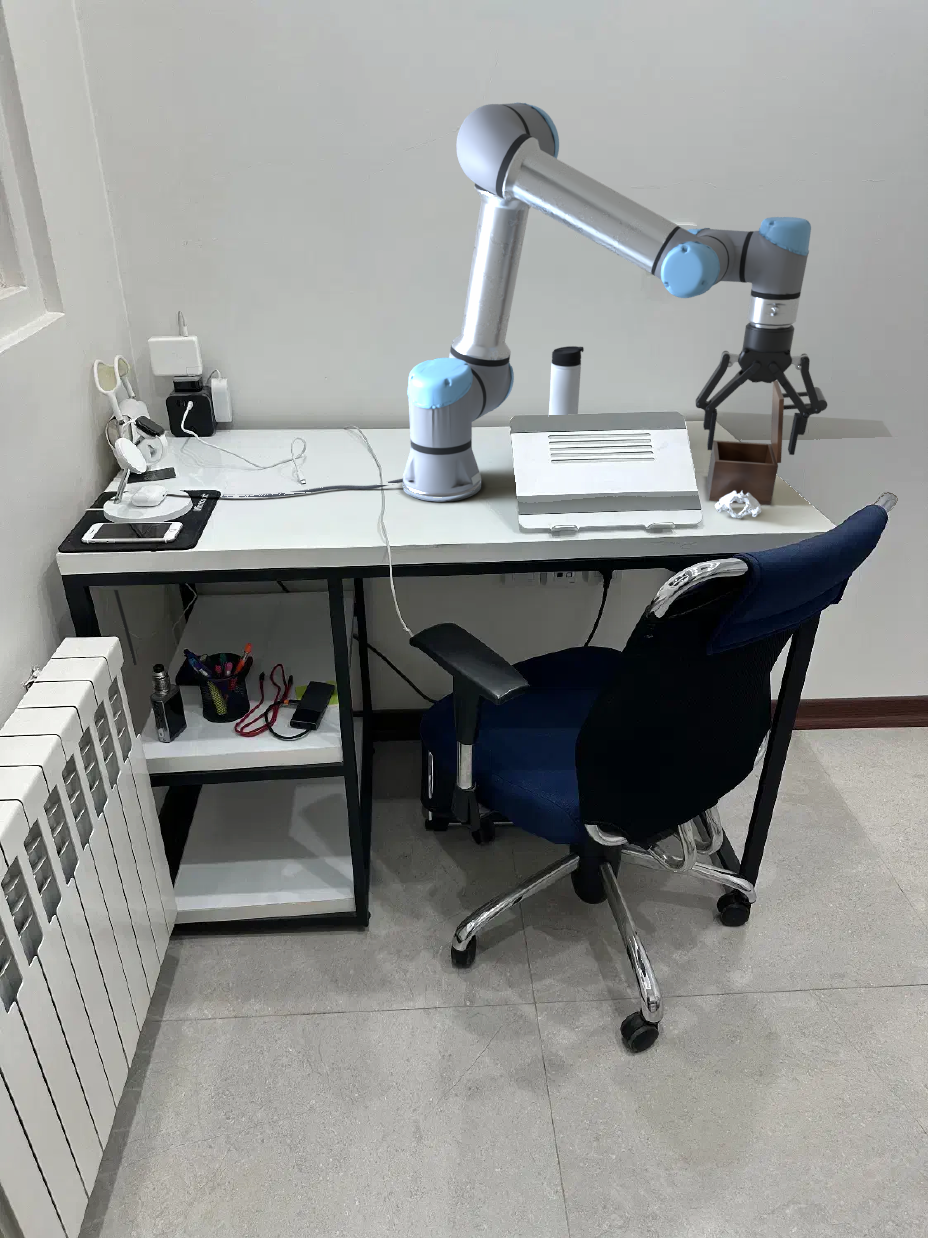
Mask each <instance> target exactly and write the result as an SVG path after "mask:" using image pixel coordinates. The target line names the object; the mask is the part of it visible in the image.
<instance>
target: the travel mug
mask: <svg viewBox="0 0 928 1238" xmlns="http://www.w3.org/2000/svg"><path fill="white" fill-rule="evenodd" d="M584 349H585V348H584V346H576V345H575V346H574V345H572V346H571V345H570V346H569V345H568V346H561V347H558V348H554V349H553V351H552V352H551V362H550V363H551V364H550V365H551V367H550V382H549V383H550V384H549V385H550V387H549V405H548V406H549V407H548V416H549V415H568V414H578V415H579V403H580V402H579V399H580V386H581V385H580V384H581V371H582V370H581V369H582V353H584V351H585V350H584Z"/></svg>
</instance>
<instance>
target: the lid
mask: <svg viewBox="0 0 928 1238" xmlns="http://www.w3.org/2000/svg"><path fill="white" fill-rule="evenodd" d="M780 386H781V385H780V383H779V382H778V380H776V381H774V382H772V396H771V398H772V399H771V400H772V401H771V425H770V444H771V445H772V448H773V452H774V456H775V459H776V463H778V464H781V463H782V451H783V450H782V449H783V429H784V411H785V410H798V409H797V408H796V406H795V405H794V403H793V404H785V399H788V398H789V396H788V395H787V393H786V392H782V390H781V389H782V388H781V387H780ZM814 388H815V391H816V394H817V397H818V400H819V404H820V407H821V412H824V411H825V410H826V409H827V408H828V402H827V400H826V397H825V396H824V394H823V391H822V389H821V388H820V387H817V386H814ZM796 392H797V393H798V395H799V396H800V398H801V397H808V394H807V391H796ZM789 399H790V398H789ZM804 404H805V405H806V406H808V405H811V403H810V402H808V403H807V402H806V403H805V402H804Z"/></svg>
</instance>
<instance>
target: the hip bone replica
mask: <svg viewBox="0 0 928 1238" xmlns="http://www.w3.org/2000/svg"><path fill="white" fill-rule="evenodd" d="M736 493H737V492H736V491H733V492H732V493H730V494H727V495H725V496H724V497H722V498H721V499H720V500H719V501H716V503H715V504H714V508H715V509H716V511H717V513H722V511H724V512H726V513H728V514H729V515H730V516H731V518H733V519H742V518H744V517H745V516H748V515H752V517H753V518H756V517H757V516H758V515H759V514H761V513H762V505H761V504H759V502H758V501H757V500H756V499H755V498H754V497H753V496H752V495H751V494H750V493H747V494H746V495H744V494H743V493H742V491H741V493H739V494H736ZM733 501H737V502H738V503H737V504H744V503H743V502H746V503H745V506H744V507H743V509H742V510H741V511H740V512H739V513H736V512H735V511H734V510H733V507H732V503H734V502H733Z"/></svg>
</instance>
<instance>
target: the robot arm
mask: <svg viewBox="0 0 928 1238" xmlns="http://www.w3.org/2000/svg"><path fill="white" fill-rule="evenodd" d="M455 146H456V147H455V148H456V157H457V161H458V163H459V166H460V167H461V169H462V171H463V174H465V176H466V177H467V178H468V179H469V180H471V181H472V182H473V183H474V187H473V188H474V190H475V192H476V193H477V194H478V196H479V198H480V206H479V211H478V219H477V225H476V231H475V238H474V245H473V252H472V258H471V265H470V271H469V278H468V283H467V291H466V296H465V304H464V310H463V317H462V322H461V330H460V334H459V335H457V336H456V337H454V338H453V339H452V340H451V343H450V350H449V355H448V357H438V358H434V359H433V360H432V359H427V360H425V361H422V362H420V363H418V364H417V365H415V366H414V367H413V368H412V369H411V370H410V372H409V375H408V386H407V397H408V414H409V415H408V417H409V437H410V438H409V439H410V451H409V453H408V458H407V461H406V465H405V467H404V472H403V475H402V478H398V479H394V480H389V481H387V482H388V483H397V484H401V483H402V489H403V491H404V492H405V493H406V494H407V495H408V496H410V497H413V498H415V499H418V500H422V501H427V502H437V503H438V502H441V503H442V502H454V501H461V500H464V499H467V498H470V497H472V496H474V495H476V494H477V493H478V492H479V491H480V490H481V489H482V475H481V471H480V469H479V466H478V463H477V459H476V457H475V453H474V451H473V422H475V421H476V420H478V419H479V418H481V417H484V416H485V415H486V414H488V413H490V412H493V411H494V410H497V408H499V407H500V406H501V405H502V404H503V403H504V402H505V401H506V400H507V398H509V396H510V394H511V393H512V390H513V388H514V387H513V386H514V382H515V372H514V368H513V366H512V365H511V363H510V362H511V361H510V359H511V353H512V352H511V349H510V347H509V346H508V344H507V343H506V338H507V333H508V327H509V322H510V317H511V311H512V305H513V301H514V300H513V299H514V295H515V289H516V283H517V278H518V274H519V273H518V272H519V268H520V267H519V266H520V261H521V256H522V250H523V246H524V245H523V244H524V239H525V235H526V229H527V224H528V217H529V213H530V209H531V208H533V209H535V210H537V211H538V212H540V213H542V214H544V215H545V216H547V217H548V218H551V219H553V220H554V221H556V222H558V223H560V224H561V225H563V226H565V227H567V228H569V229H570V230H573V231H574V232H575V233H578V234H579V235H581V236H583V237H585V238H587V239H588V240H590V241H592V242H594V243H595V244H597V245H599V246H601V247H602V248H604V249H606V250H608V251H609V252H611V253H612V254H615V255H617V256H619V257H620V258H622V259H624V260H626V261H628V262H629V263H631V264H633V265H635V266H636V267H638V268H640V269H642V270H644V271H645V272H647V273H649V274H650V275H653V276H654V277H656V278H657V279H659V280H661V282H662V284H663V286H664V288H665V289H666V290H667V291H668V292H669V294H671V295H672V296H675V297H676V298H679V299H691V298H694V297H697V296H701V295H704V294H705V293H707V292H708V291H709V290H711V288H712V287H713V286H715V285H717V284H718V283H720V282H733V283H750V284H751V290H750V294H749V295H750V296H749V303H748V309H747V316H746V320H747V321H748V323H747V324H746V325H745V329H744V336H743V343H742V348H741V351H740V353H739V354H737V353H730V352H729V351H728V350H724V351H722V353H721V355H720V359H719V363H718V365H717V367H716V368H715V370H714V371H713V373H712V374H711V376H710V377H709V379H708V380H707V382H706V383H705V385H704V386H703V388H702V390H700V392H699V394H698V395H697V396H696V398H695V407H696V409H701V410H703V411H704V416H703V430H704V431H708V436H707V443H706V446H707V447H706V448H707V451H711V450H712V447H713V440H714V438H715V431H716V425H717V419H718V410H717V408H718V407H719V406H720V405H721V404H723V402H724V401H725V400H726V399H728V397H730V396H731V395H732V394H733V393H734V392H735V391H736V390H737V389H738V388H739V387H740V386H743V385H744V384H745V383H746V382H747V381H749V382H751V383H755V384H757V383H765V384H773V382H774V381H778V384H779V386H781V387H782V389H783V391H784V393H787V395H788V396H789V399H790V400H791V402H792V403H793V404H794V405H795V406H796V408H797V409H796V410H797V411H798V412H794V414H793V418H792V426H791V430H790V437H789V442H788V447H787V451H788V454H789V456H794V455H795V453H796V448H797V443H798V437H799V436H804V435H805V433H806V431H807V430H806V429H807V424H808V419H809V417H810V416H811V415H815V414H816V415H819V414H821V413H822V411H821V407H820V404H819V400H818V397H817V394H816V391H815V388H814V387H815V386H814V382H813V379H812V376H811V373H810V361H811V360H810V358H809V355H808V354H807V353H801V354H800V355H794V356H793V355H791V350H792V346H793V345H792V344H793V339H794V333H795V327H794V325H793V324H794V323H796V322H797V316H798V309H799V304H800V298H801V293H802V287H803V282H804V278H805V274H806V273H805V272H806V267H807V262H808V257H809V253H810V250H809V247H810V240H811V232H812V225H811V223H810V222H809V220H808V219H806V218H802V217H794V216H772V217H766V218H764V219H763V220H761V222H760V223H761V224H760V227H759V228H758V230H749V231H748V230H747V231H745V230H732V229H730V230H729V229H718V228H717V229H716V228H715V229H713V228H710V227H704V228H688V229H685V228H684V227H681V226H679V225H678V224H676V223H674V222H673V221H671V220H669V219H667V218H665V217H664V216H662V215H660V214H658V213H656V212H655V211H653V210H651V209H649V208H647V207H645V206H644V205H642V204H640V203H638V202H636V201H634V200H633V199H632V198H629V197H627V196H626V195H624V194H622V193H620V192H619V191H617V190H615V189H613V188H611V187H609V186H607V185H605V184H604V183H602V182H600V181H598V180H596V179H594V178H593V177H591V176H589V175H587V174H585V173H584V172H582V171H580V170H578V169H576V168H574V167H573V166H571V165H569V164H567V163H565V162H563V161H562V160H561V159H558V156H559V152H560V138H559V132H558V129H557V127H556V125H555V123H554V121H553V119H552V118H551V116H550V115H549V114H548V113H547V112H546V111H545V110H543V109H542V108H540V107H538V106H536V105H533V104H528V103H526V102H512V103H488V104H485V105H481V106H480V107H477V108H476V109H474V110H473V111H471V112H469V114H468V115H467V116H466V117H465V118H464V120H463V122H462V123H461V125H460V127H459V129H458V133H457V136H456V145H455ZM735 363H738V365H739V367H740V368H741V369H740V370H738V372H737V373H735V375H734V376H733V377H732V378H731V379H730V380H729V381H728V382H727V383H726V384H725V385H724V386H723V387H722V388H720V390H718V391H717V392H716V393H715V394H714V395H713V396H712V397H711V398H710V396H711V394H712V393H713V391H715V389H716V387H717V386H718V385H719V383H720V382H721V380H722V378H723V377H724V375H725V374H726V372H727V370H728V368H731V367H733V365H734V364H735ZM792 365H794V367H795V369H796V370H797V371H799V372H800V373H799V374H800V376H801V379H802V381H803V385H804V388H805V392H807V394H808V396H807V397H808V400H809V403H811V405H808V406H806V405H805V402H804V401H803V399H802V398H801V397H800V396H799V395H798V393H797V392H798V391H797V390H796V389H795V388H794V386H793V385H792V383H791V382H790V380H789V378H788V377H787V376H786V374H785V372H786V371H787V370H788V369H789V368H790V367H791V366H792ZM709 398H710V399H709ZM403 485H404V486H403ZM387 486H389V485H377V484H371V485H370V484H369V485H352V484H351V485H350V484H341V485H339V484H338V485H326V486H321V488H320V487H314V488H308V489H309V490H308V489H302V490H292V491H291V492H305V493H294V494H285V493H282V492H277V493H278V494H273V495H272V494H271V493H258V494H259V495H260V494H261V495H262V494H263V495H262V496H261V495H260V496H259V495H254V496H250V495H251V494H248V495H249V496H248V497H268V498H281V497H289V496H298V495H306V494H307V493H306V492H311V493H310V494H312V493H319V492H323V491H325V492H326V491H332V490H373V489H374V490H375V489H380V488H384V487H387ZM322 487H323V488H322ZM404 487H405V488H406V489H407V490H406V489H405V488H404ZM408 490H409V491H410V492H409V491H408ZM411 492H413V493H411ZM280 493H281V494H280ZM414 493H416V494H414ZM265 494H266V495H265ZM267 494H268V495H267ZM279 494H280V495H279ZM284 494H285V495H284ZM417 494H418V495H417ZM224 495H225V494H223V496H222V497H227V496H224ZM244 495H245V496H246V495H247V494H244ZM264 495H265V496H264ZM420 495H422V496H420ZM245 496H239V497H245ZM425 496H426V497H425ZM228 497H233V496H228ZM246 497H247V496H246ZM433 497H442V498H433ZM113 592H114V595H115V600H116V605H117V607H118V610H119V614H120V618H121V622H122V621H123V622H122V625H124V626H123V629H124V628H125V629H124V633H125V637H126V640H127V644H128V648H130V649H129V652H130V651H131V653H130V655H131V654H132V657H131V659H132V658H133V662H132V664H133V663H134V665H133V666H137V664H138V663H137V659H136V654H135V650H134V646H133V642H132V638H131V634H130V629H129V626H128V623H127V618H126V616H125V611H124V608H123V604H122V601H121V597H120V594H119V590H118V589H113Z"/></svg>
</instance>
